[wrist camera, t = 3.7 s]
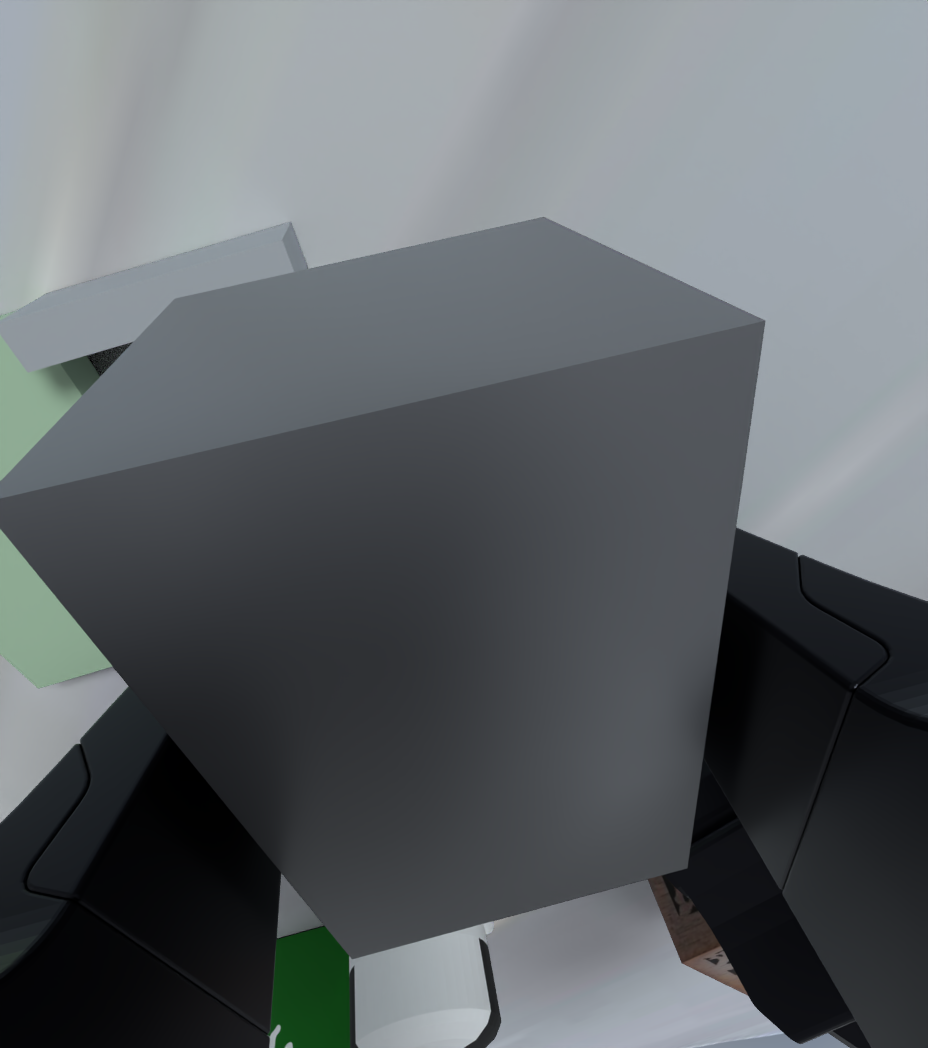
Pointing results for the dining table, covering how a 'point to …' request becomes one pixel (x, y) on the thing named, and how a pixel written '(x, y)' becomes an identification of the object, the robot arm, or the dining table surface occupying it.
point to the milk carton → (310, 992)
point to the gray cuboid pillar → (419, 564)
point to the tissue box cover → (693, 934)
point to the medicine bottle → (426, 994)
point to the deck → (62, 378)
